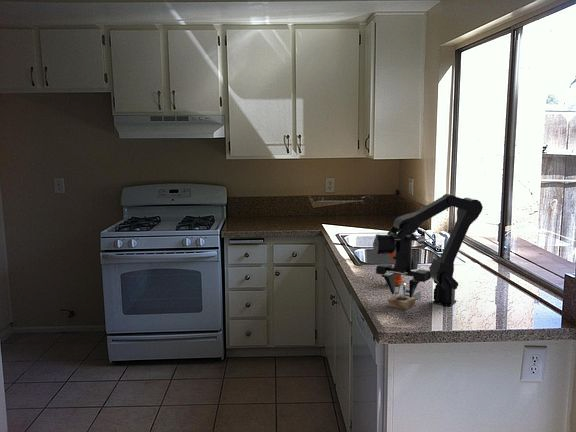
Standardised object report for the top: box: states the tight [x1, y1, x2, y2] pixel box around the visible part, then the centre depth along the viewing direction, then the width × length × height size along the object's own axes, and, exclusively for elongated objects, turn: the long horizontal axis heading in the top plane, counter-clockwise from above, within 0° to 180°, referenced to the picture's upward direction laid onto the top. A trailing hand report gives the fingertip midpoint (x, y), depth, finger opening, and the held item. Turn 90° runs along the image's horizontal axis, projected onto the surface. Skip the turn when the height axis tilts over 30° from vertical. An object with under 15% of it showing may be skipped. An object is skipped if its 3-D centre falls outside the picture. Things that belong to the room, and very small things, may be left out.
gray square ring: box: [394, 287, 422, 301], centre depth 192 cm, size 7×7×2 cm
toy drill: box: [388, 251, 405, 287], centre depth 213 cm, size 5×19×15 cm, turn 11°
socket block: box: [387, 294, 416, 311], centre depth 184 cm, size 7×7×2 cm
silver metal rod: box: [398, 282, 407, 301], centre depth 183 cm, size 2×2×8 cm
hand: (401, 295), depth 183 cm, fingers open, 7 cm apart
